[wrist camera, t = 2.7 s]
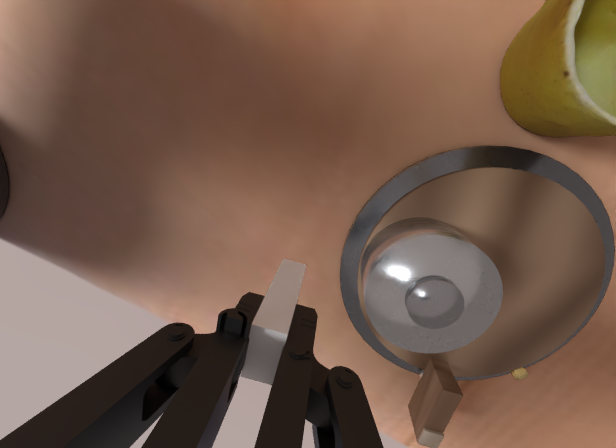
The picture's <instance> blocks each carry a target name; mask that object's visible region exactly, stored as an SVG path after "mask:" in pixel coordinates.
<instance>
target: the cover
mask: <svg viewBox="0 0 616 448" xmlns="http://www.w3.org/2000/svg"><path fill="white" fill-rule="evenodd" d="M360 275H361V282H362V288H363V294H364V301H365V307H366V312H367V315H368V317H369V320H370V322H371V323H372V325H373V327H374V328H375V329H376V331H377V332H378V333H379V334H380V335H381V336H382V337H383V338H385V339H386V340H387V341H389V342H390V343H392V344H393V345H395V346H397V347H400V348H402V349H405V350H408V351H412V352H417V353H442V352H447V351H451V350H454V349H457V348H460V347H462V346H465V345H467V344H469V343H470V342H472V341H474V340H475V339H477V338H478V337H479V336H481V335H482V334H483V333H484V332H485V331H486V330H487V329H488V328H489V326H490V325H491V324H492V323H493V321H494V320H495V318H496V316H497V314H498V312H499V310H500V307H501V303H502V297H503V285H502V280H501V277H500V274H499V271H498V269H497V268H496V266H495V264H494V263H493V262H492V260H491V259H490V258H489V257H488V256H487V255H486V254H485V253H484V252H483V251H481V250H480V249H479V248H478V247H477V246H475V245H474V244H473V243H472V242H471V241H469V240H468V239H467V238H466V237H465V236H463V235H462V234H461V233H460V232H459V231H457V230H456V229H455V228H453V227H452V226H450V225H449V224H447V223H445V222H443V221H439V220H436V219H432V218H424V217H416V218H408V219H403V220H400V221H397V222H395V223H392V224H390V225H388V226H387V227H385V228H384V229H382V230H381V231H380V232H378V233H377V234H376V235H375V236H374V237H373V238H372V240H371V241H370V242H369V244H368V245H367V247H366V249H365V251H364V253H363V256H362V259H361V265H360Z"/></svg>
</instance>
